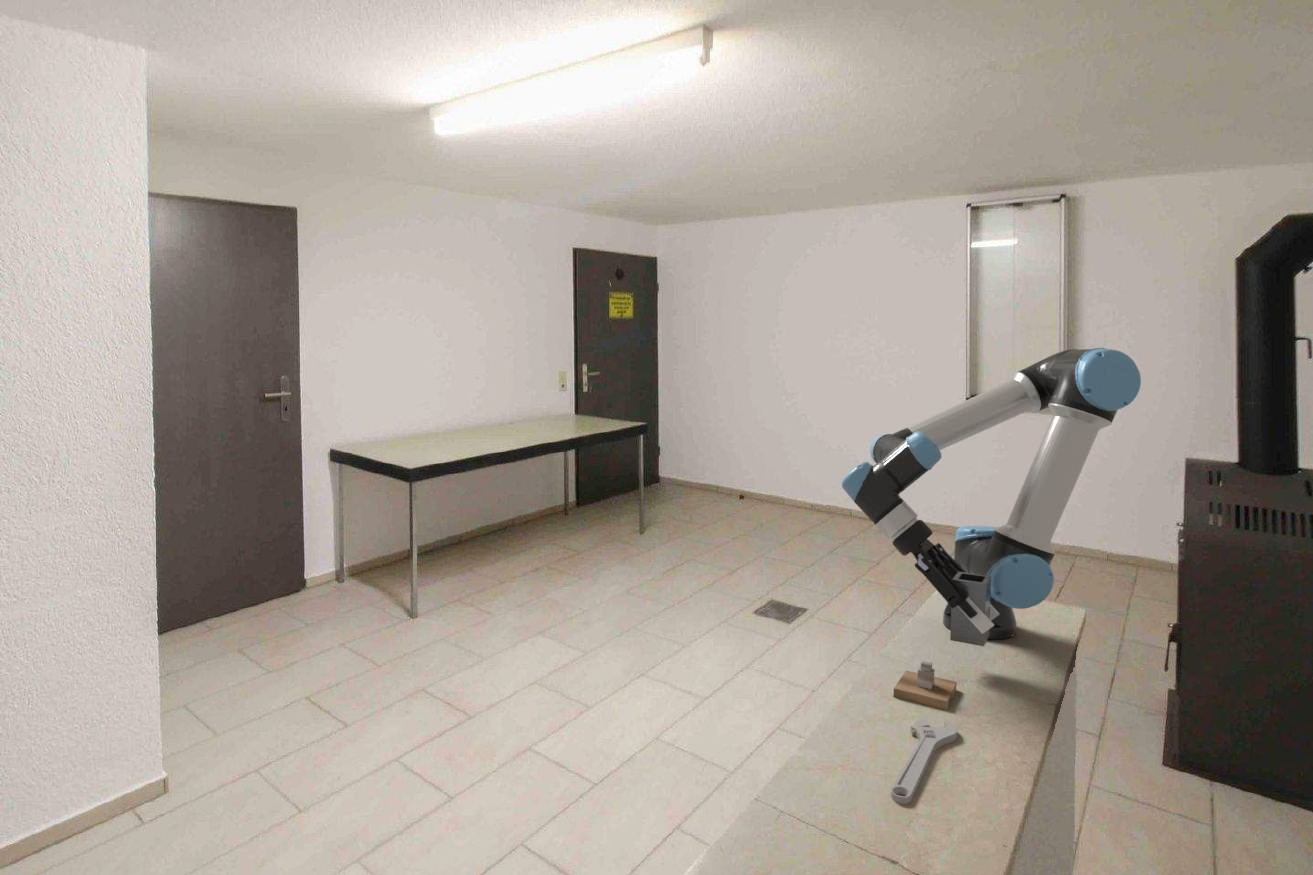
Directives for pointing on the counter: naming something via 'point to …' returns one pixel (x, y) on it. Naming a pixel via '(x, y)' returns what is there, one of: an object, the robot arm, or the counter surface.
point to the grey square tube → (980, 595)
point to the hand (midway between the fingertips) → (990, 623)
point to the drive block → (925, 687)
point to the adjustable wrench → (921, 757)
